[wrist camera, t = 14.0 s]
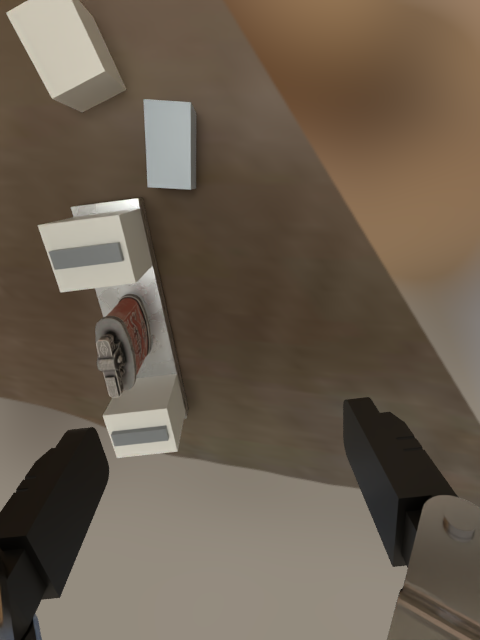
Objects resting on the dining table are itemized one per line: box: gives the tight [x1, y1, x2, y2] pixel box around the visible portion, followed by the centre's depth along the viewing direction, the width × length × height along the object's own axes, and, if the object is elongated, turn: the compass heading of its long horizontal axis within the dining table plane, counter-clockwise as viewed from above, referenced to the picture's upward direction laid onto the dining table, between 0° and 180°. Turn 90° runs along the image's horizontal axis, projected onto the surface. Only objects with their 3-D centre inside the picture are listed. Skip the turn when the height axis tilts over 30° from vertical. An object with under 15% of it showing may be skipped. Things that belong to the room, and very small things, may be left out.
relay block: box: [6, 0, 127, 112], centre depth 29 cm, size 5×6×6 cm
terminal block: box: [144, 99, 196, 190], centre depth 32 cm, size 4×7×5 cm, turn 177°
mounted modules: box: [38, 209, 185, 458], centre depth 36 cm, size 7×26×8 cm, turn 7°
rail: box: [71, 198, 188, 419], centre depth 41 cm, size 7×28×2 cm, turn 7°
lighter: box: [95, 294, 151, 398], centre depth 35 cm, size 8×3×10 cm, turn 4°
